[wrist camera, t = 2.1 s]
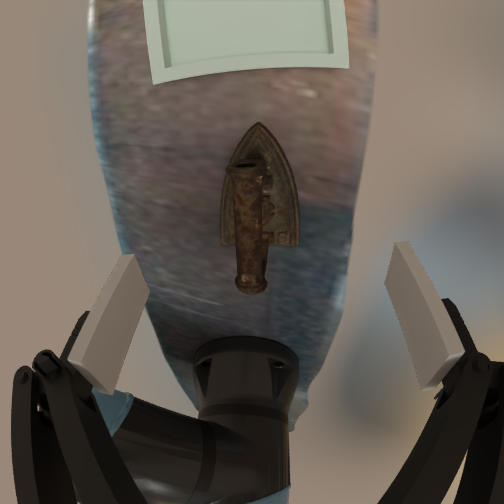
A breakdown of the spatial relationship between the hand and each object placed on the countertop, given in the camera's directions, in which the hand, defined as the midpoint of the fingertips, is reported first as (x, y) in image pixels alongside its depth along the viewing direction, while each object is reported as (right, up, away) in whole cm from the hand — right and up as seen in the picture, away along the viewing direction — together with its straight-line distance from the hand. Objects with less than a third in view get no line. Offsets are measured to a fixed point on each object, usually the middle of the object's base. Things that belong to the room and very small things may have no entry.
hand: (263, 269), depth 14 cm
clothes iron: (0, +6, +9) cm, 11 cm away
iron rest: (-1, +21, -2) cm, 21 cm away
